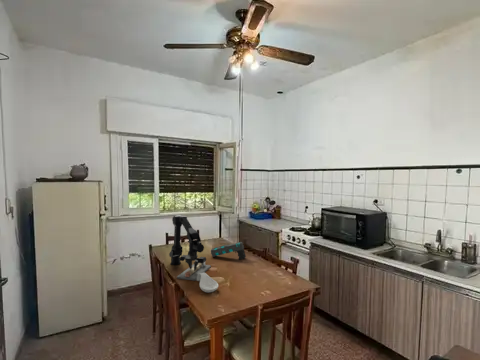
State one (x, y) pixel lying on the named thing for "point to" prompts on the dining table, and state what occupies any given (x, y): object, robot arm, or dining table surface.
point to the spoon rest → (207, 283)
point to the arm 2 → (193, 270)
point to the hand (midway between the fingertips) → (192, 270)
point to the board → (195, 274)
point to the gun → (229, 250)
